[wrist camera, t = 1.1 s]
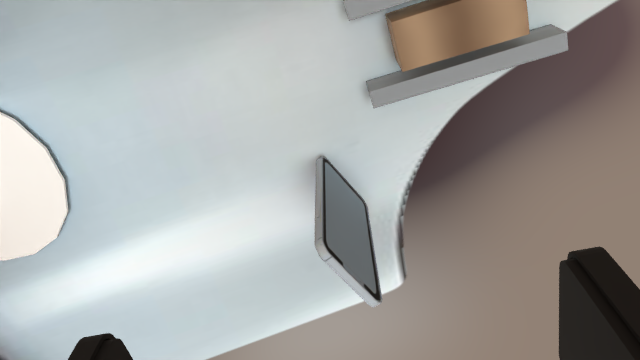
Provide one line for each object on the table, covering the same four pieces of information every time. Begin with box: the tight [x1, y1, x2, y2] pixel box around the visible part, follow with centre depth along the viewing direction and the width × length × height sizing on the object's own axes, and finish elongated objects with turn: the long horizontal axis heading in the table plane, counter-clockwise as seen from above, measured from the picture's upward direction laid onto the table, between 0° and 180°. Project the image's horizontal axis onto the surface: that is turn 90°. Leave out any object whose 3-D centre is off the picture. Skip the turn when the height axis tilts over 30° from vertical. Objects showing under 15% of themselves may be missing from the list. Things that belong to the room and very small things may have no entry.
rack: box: [343, 0, 568, 108], centre depth 39 cm, size 16×9×3 cm, turn 108°
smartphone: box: [315, 156, 382, 307], centre depth 41 cm, size 7×1×15 cm, turn 39°
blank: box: [385, 0, 530, 72], centre depth 39 cm, size 10×4×4 cm, turn 107°
